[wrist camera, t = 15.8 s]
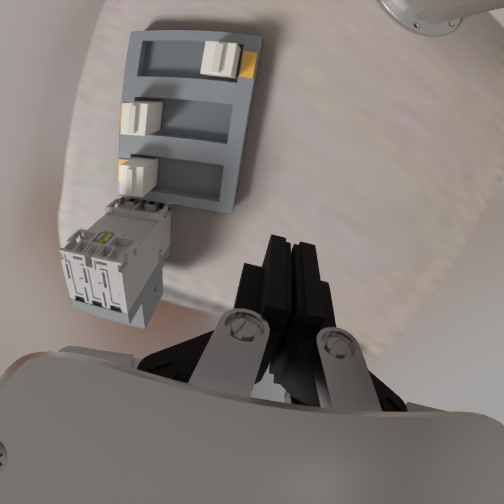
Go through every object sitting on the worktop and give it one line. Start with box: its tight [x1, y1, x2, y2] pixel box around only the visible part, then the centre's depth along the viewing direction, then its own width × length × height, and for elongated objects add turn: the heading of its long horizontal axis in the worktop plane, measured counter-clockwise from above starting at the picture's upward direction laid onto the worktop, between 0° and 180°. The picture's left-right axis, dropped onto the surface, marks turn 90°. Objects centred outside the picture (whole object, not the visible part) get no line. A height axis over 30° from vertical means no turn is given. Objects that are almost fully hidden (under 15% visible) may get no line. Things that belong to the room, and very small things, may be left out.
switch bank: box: [118, 30, 263, 214], centre depth 31 cm, size 21×15×3 cm
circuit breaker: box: [59, 196, 171, 329], centre depth 35 cm, size 8×14×15 cm, turn 172°
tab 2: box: [120, 156, 158, 197], centre depth 33 cm, size 4×3×5 cm
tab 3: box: [200, 41, 242, 79], centre depth 26 cm, size 4×3×5 cm
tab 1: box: [121, 101, 163, 136], centre depth 29 cm, size 4×3×5 cm
